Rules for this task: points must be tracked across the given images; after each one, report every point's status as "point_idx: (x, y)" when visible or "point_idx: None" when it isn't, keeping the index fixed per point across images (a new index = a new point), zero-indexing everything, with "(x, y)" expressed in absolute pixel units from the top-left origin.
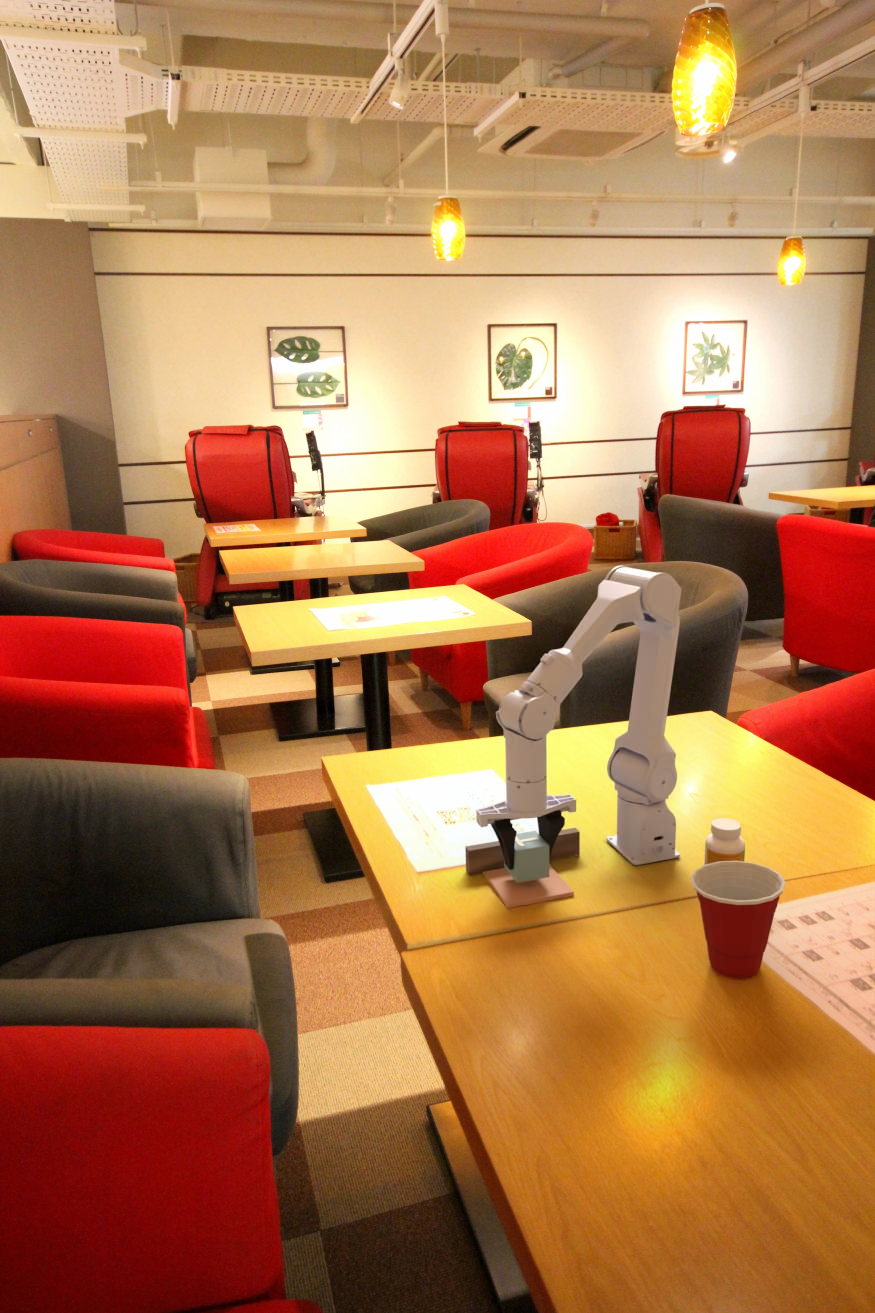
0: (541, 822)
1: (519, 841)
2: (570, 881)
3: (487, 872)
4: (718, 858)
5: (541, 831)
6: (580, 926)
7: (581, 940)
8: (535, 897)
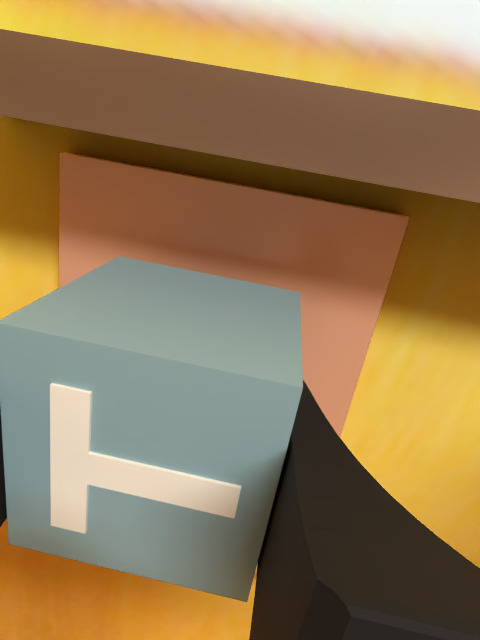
0: (272, 627)
1: (74, 472)
2: (386, 401)
3: (74, 172)
4: None
5: (278, 529)
6: (224, 598)
7: (187, 634)
8: None
